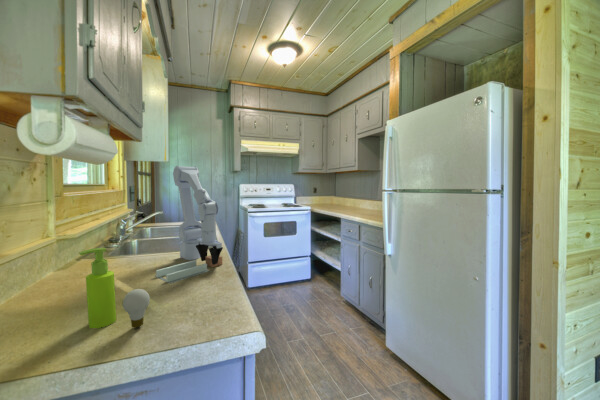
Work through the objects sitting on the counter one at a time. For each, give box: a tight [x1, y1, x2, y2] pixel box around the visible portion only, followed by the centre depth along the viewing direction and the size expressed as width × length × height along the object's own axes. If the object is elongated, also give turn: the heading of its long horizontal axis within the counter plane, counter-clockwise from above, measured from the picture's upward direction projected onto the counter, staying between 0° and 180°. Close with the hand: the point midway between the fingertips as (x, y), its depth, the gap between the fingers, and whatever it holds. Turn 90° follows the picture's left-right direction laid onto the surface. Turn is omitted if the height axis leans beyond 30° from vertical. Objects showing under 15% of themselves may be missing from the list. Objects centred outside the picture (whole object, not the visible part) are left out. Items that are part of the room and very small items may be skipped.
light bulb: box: [122, 288, 151, 329], centre depth 68 cm, size 6×6×10 cm
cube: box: [205, 255, 223, 268], centre depth 114 cm, size 5×5×5 cm
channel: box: [154, 259, 210, 284], centre depth 103 cm, size 12×16×4 cm
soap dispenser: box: [78, 247, 117, 329], centre depth 70 cm, size 6×7×20 cm
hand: (209, 262), depth 113 cm, fingers open, 7 cm apart
